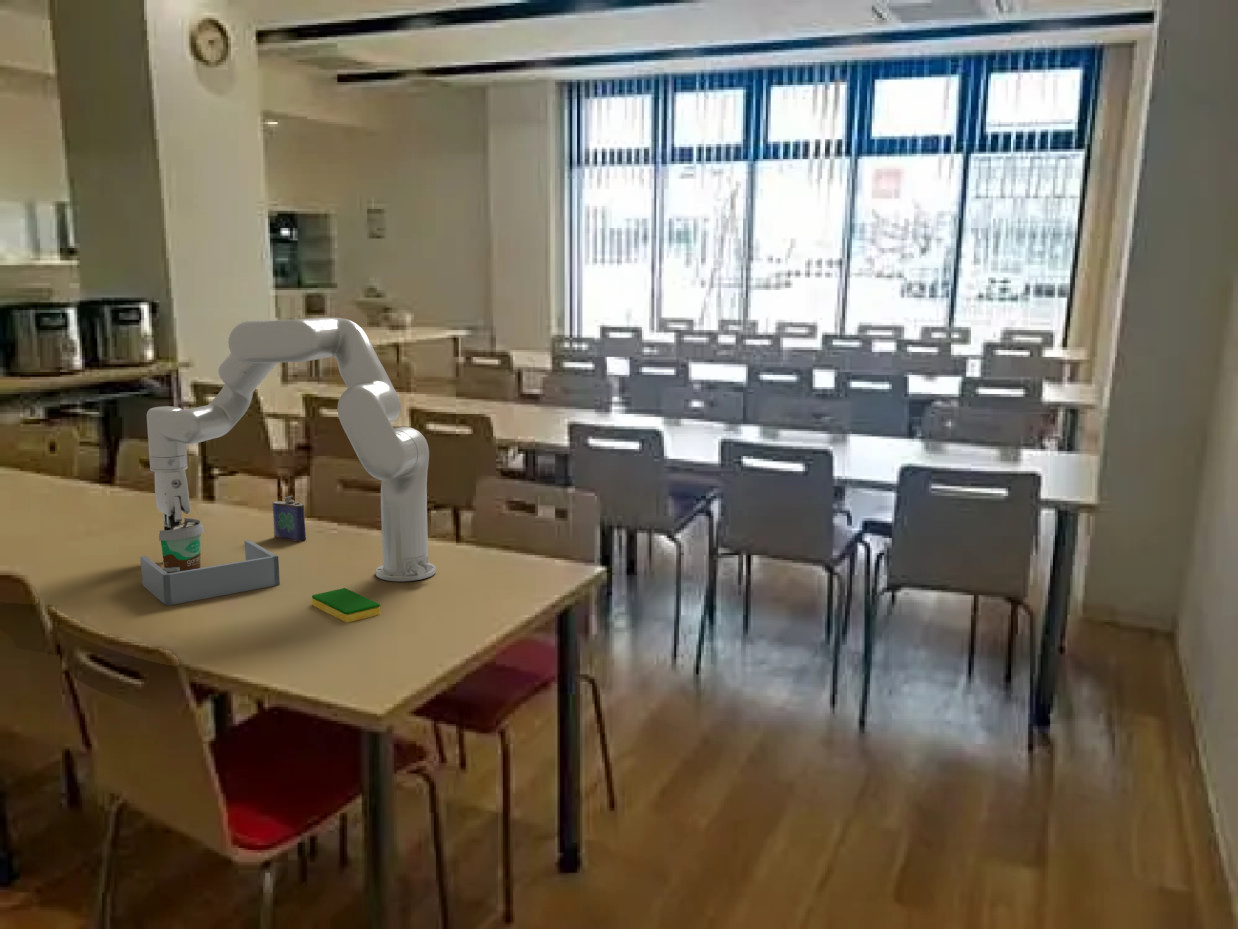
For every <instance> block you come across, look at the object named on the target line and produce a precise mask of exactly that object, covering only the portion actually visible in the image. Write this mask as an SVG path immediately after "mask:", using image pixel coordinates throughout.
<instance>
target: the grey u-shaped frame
mask: <svg viewBox="0 0 1238 929" xmlns="http://www.w3.org/2000/svg"><path fill="white" fill-rule="evenodd" d="M243 542H244V553H245V554H244V556H245V557H244V558H245V560H241V561H235V562H230V563H221V564H218V565H212V566H206V567H200V568H198V569H192V570H186V571H180V572H174V573H167V572H166V571H165V569H163V568H162V567H160V566H159V565H158V564H157V563H156V562H154V561H153V560H151V559H150V558H149V557H147V556H146V555H142V556H139V558H140V559H139V560H140V569H141V570H140V571H141V573H140V574H141V582H142V583H141V584H142V586H143V587H144V588H146V589H147V590H148V592H150V593H151V594H152V595H154V597H155V598H157V599H158V600H159V601H160V602H161V603H162V604H164V605H165V606H166V607H167V606H172V605H178V604H183V603H189V602H194V601H199V600H200V601H201V600H204V599H211V598H214V597H220V596H227V595H232V594H237V593H241V592H247V591H253V590H258V589H263V588H269V587H274V586H279V585H280V584H281V582H280V566H279V565H280V564H279V563H280V561H279V555H277V554H275V553H273V552H271V551H269V550H268V549H266V548H264V547H262V546H260V545H259V544H257V543H255V542H254V541H252V540H251V539H247V540H246V539H245V540H244V541H243Z"/></svg>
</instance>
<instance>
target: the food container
mask: <svg viewBox="0 0 1238 929" xmlns="http://www.w3.org/2000/svg"><path fill="white" fill-rule="evenodd" d="M204 532H205V530H204V525H203V524H202V522H201V520H199V519H198V518H190V517H188V518H186V517H184V522H183V523H181V525H177V526H173V527H172V528H171V529H170V530H164V529H162V530H161V529H160V530H159V534H158V541H160V545H161V553H162V558H163V560H162V562H163V568H164V569H163V570H164V571H166V572H167V573H174V572H180V571H186V570H192V569H198V568H201V555H202V554H201V548H202V547H201V546H202V544H201V542H202V541H201V540H202V534H203V533H204Z"/></svg>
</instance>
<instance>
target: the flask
mask: <svg viewBox="0 0 1238 929" xmlns="http://www.w3.org/2000/svg"><path fill="white" fill-rule="evenodd" d="M292 498H293V495H288V496H284V498H283V499H285V501H281V500H279V501H273V502H272V513H273V514H272V517H273V537H274V538H275V539H278V540H279V539H280V540H283V541H284V540H285V541H294V542H297V541H298V542H299V543H300V542H301V541H303V542H306V541H307V537H306V535H307V533H306V524H305V520H306V519H305V506H304V504H303V503H300V502H299V501H297V502H295V500H294V499H292ZM305 540H306V541H305Z"/></svg>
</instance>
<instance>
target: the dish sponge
mask: <svg viewBox="0 0 1238 929" xmlns="http://www.w3.org/2000/svg"><path fill="white" fill-rule="evenodd" d="M311 602H312V607H313V606H314V607H315V608H318V609H319V610H320V611H322V612H325V613H327V614H329V615H331V616H333V617H335V618H337V619H339V620H341V621H342V622H344V623H351V622H355V621H358V620H363V619H366V618H370V617H375V616H380V615H381V604H380V603H379V602H377V601H374V600H372V599H369V598H368V597H366V596H364V595H361V594H359V593H358V592H355V591H353V590H351V589H348V588H345V587H344V588H343V587H342V588H339V589H338V588H337V589H334V590H329V591H326V592H321V593H320V592H319V593H316V594H311Z"/></svg>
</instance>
